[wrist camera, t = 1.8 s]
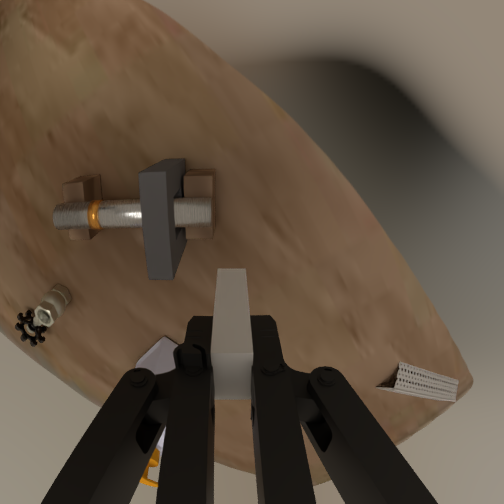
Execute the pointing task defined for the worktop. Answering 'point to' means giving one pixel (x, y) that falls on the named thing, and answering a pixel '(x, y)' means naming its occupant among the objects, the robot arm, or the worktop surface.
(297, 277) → the worktop surface
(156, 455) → the soap bottle
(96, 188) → the saddles
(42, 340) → the valve
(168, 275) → the collar
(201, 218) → the pipe
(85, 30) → the worktop surface
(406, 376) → the corner bead
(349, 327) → the worktop surface
